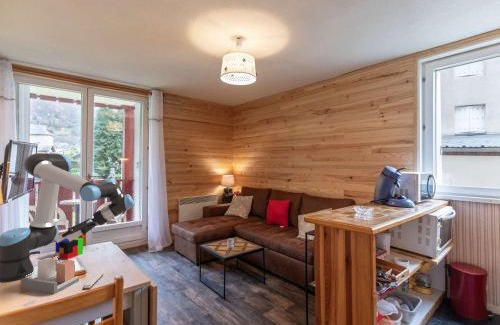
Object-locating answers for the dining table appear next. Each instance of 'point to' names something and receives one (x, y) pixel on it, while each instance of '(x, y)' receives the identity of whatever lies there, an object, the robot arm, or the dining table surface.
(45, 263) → the white rectangular block
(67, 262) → the salmon pink block
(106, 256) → the dining table surface
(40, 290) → the base
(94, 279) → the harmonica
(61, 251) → the puzzle toy
